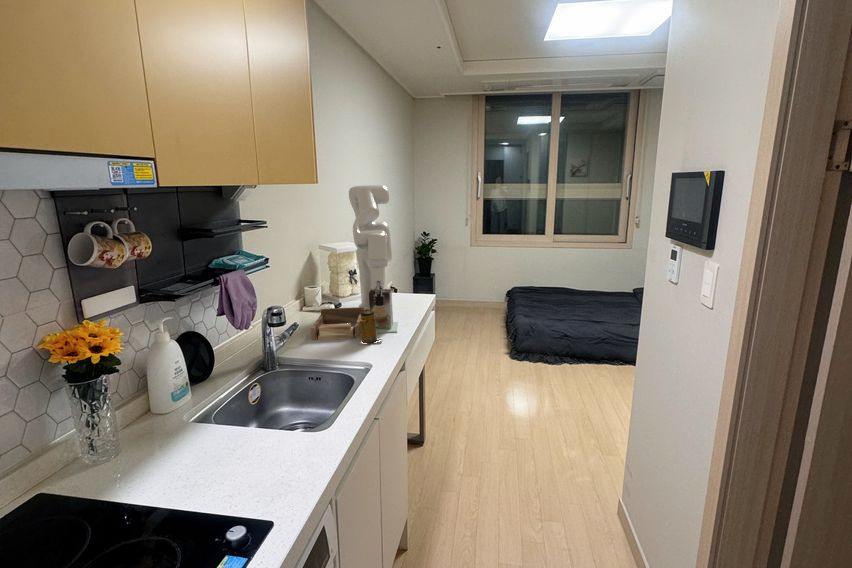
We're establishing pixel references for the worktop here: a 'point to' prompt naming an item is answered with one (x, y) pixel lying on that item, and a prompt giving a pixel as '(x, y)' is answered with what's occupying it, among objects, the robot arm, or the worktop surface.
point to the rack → (338, 319)
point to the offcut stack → (335, 331)
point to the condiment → (368, 328)
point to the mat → (393, 329)
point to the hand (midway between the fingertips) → (380, 302)
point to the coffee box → (382, 309)
